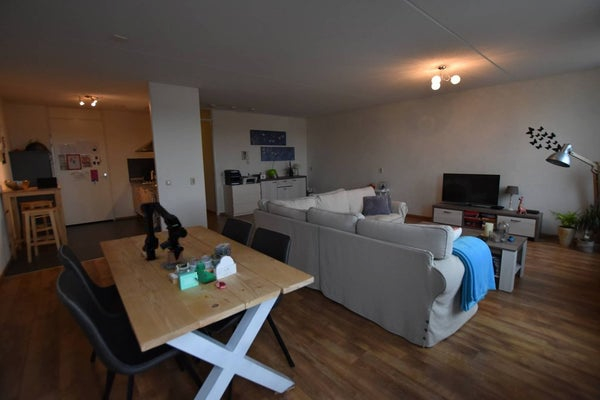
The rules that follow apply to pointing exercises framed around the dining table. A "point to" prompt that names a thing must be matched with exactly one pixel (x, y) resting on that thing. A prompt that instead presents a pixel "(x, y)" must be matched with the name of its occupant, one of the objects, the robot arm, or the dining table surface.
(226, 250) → the light bulb box
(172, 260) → the housing
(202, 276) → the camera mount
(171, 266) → the base plate
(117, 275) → the dining table surface
